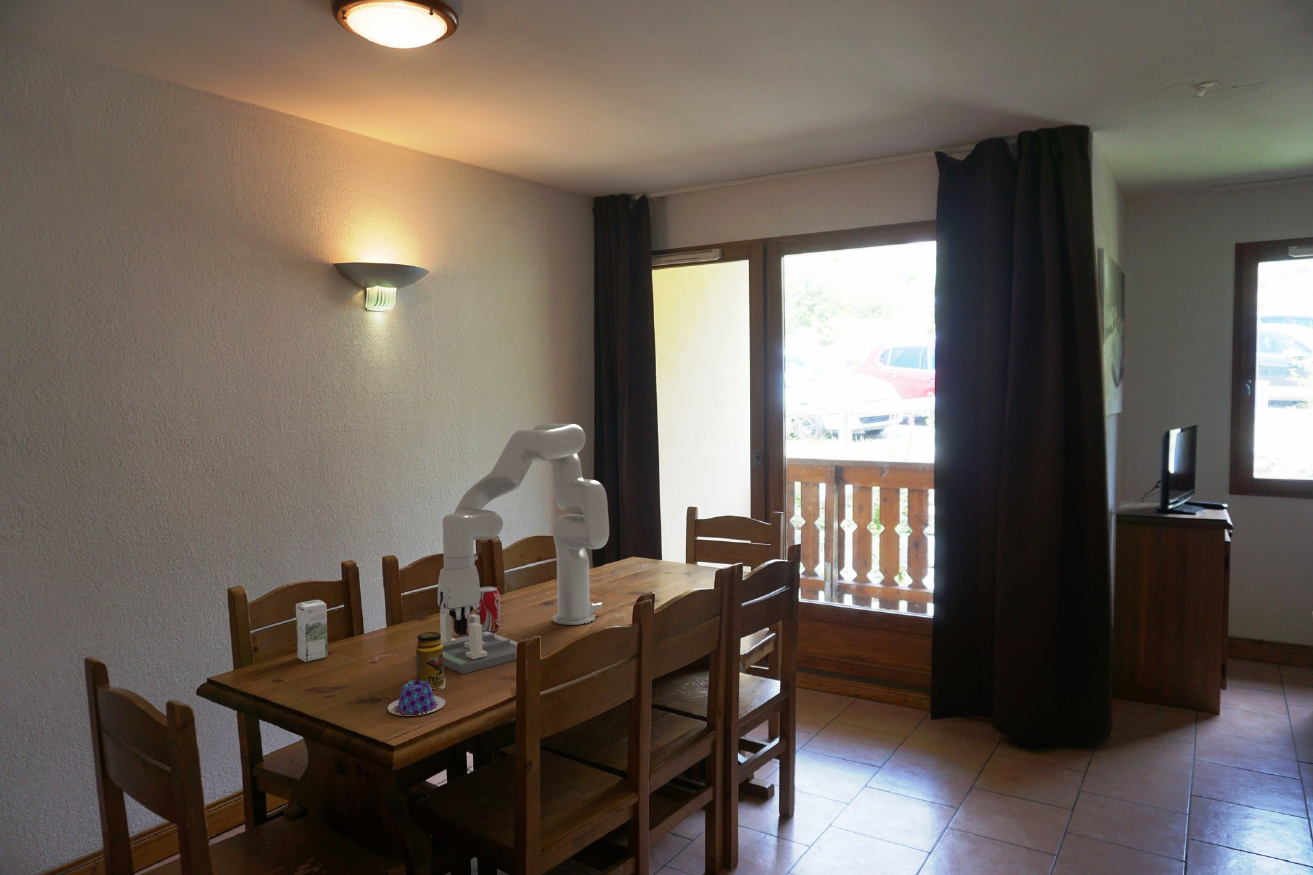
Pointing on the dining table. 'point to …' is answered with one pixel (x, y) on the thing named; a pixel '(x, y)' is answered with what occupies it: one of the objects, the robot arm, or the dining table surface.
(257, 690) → the dining table surface
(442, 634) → the post
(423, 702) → the pudding
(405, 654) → the dining table surface
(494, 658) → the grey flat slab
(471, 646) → the post
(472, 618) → the post
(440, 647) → the condiment
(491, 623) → the soda can
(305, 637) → the syrup box
